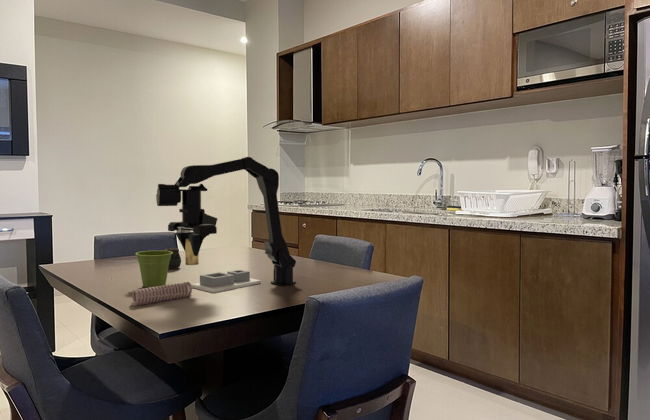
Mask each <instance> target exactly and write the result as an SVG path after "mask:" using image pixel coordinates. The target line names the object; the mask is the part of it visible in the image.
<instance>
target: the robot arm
mask: <svg viewBox="0 0 650 420" xmlns="http://www.w3.org/2000/svg"><path fill="white" fill-rule="evenodd" d="M243 170H244V171H246V172H247V173H248V174H249V175H250V176H251V177H253V178H254V179H256V180H255V181H256V182H257V183H256V184H257V185H258V188H259V190H260V191H259V192H260V193H261V194H262V197H263V203H264V211H265V218H266V219H265V220H266V224H267V233H268V240H267V241H265V242H263V245H264V249H265V250H264V254H265V255H267V257H268V259H269V260H270V261H271V264H273V281H270V284H273V285H279V286H283V287H284V286H288V285H293V284H296V283H297V281H294V268H295V267H296V263H297V260H296V259H295V258H293V257H292V256H291V254H290V250H289V247H288V243H287V242H286V240H285V238H284V236H283V232H282V224H281V215H280V210H279V202H278V194H277V193H278V190H279V185H280V183H279V182H280V181H279V180H280V176H279V173H278V171H277V170H276V169H274V168H269V167H267V166H265V165H263V164H262V163H260V162H258V161H256V160H255V159H254V158H253V157H250V156H245V157H241V158H238V159H233V160H228V161H224V162H219V163H213V164H200V165H199V164H197V165H196V164H193V165H187V166H185V167H183V168H182V170H181V171H180V174H179V175H180V177H179V178H178V179H177V180H176V181H175V183H174V184H165V183H158V184H157V190H156V195H155V198H156V199H155V200H156V205H157V207H177V206H178V203H179V204H180V203H181V204H182V205H181V208H179V213H181V217H182V218H181V219H182V221H171V222H169V223H168V225H167V230H168V231H169V232H174V235H176V237H177V240H179V242H180V244H181V246H182V248H183V250H184V252H185V239H188V238H189V239H190V243H191V246H192V250H193V254H194V256H198V253H200V250H201V247H202V244H203V241H204V240H205V238H206V237H208V236H210V235H216V234H218V233H217V232H218V227H217V222H218V218H217V217H215V216H212V215H209V214H207V213H205V211H206V210H205V209H204V208H202V192H208V188H207V187H206V186H205V185H204V184H203V183H201V182H204V181H206V180H208V179H210V178H213V177H215V176H221V175H225V174H229V173H233V172H234V173H235V172H238V171H239V172H240V171H243ZM199 183H200V184H199ZM196 184H198V185H196ZM186 187H188V189H180V188H186ZM175 231H176V232H175Z"/></svg>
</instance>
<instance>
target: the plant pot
mask: <svg viewBox="0 0 650 420" xmlns="http://www.w3.org/2000/svg"><path fill="white" fill-rule="evenodd" d="M172 253H173V252H171V251H165V250H161V249H160V250H159V249H158V250H157V249H156V250H143V251H138V252H136V253H135V255H136V257H137V262H138V265H139V270H140V275H141V281H142V286H143V287H144V288H149V287H150V288H151V287H158V286H164V285H167V278H168V273H169V272H168V271H169V269H168V267H169V261H170V258H171V254H172Z"/></svg>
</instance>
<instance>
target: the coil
mask: <svg viewBox="0 0 650 420" xmlns="http://www.w3.org/2000/svg"><path fill="white" fill-rule="evenodd" d="M192 291H193V288H192V286H191V282H189V281H187V282H185V281H183V282H180V283H179V282H178V283H172V284H166V285H164V286H157V287H151V288H150V287H149V288H147V287H144V288H138V289H133V290H132V295H131V297H132V301H133V302H131V304H130V305H131V306H133V307H136V306H137V307H138V306H143V305H148V304H154V303H160V302H167V301H171V300H172V301H173V300H177V299H178V300H179V299H184V298H190V297H191V296H192V293H193V292H192Z"/></svg>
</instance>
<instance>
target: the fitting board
mask: <svg viewBox="0 0 650 420" xmlns="http://www.w3.org/2000/svg"><path fill="white" fill-rule="evenodd" d="M250 273H251V272H250V271H249V270H243V269H236V270H230V271H227V273H226V272H221V271H217V272H211V273H206V274H205V273H204V274H200V275H199V282H197V283H192V284H191V283H190V284H191V286H192V289H196V290H197V289H198V290H200V291H205V292H208V293H213V294H214V293H219V292H223V291H229V290H233V289H239V288H243V287H248V286H254V285H259V284H262V280H261V279H255V278H250V277H251V276H250V275H251V274H250Z"/></svg>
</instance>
